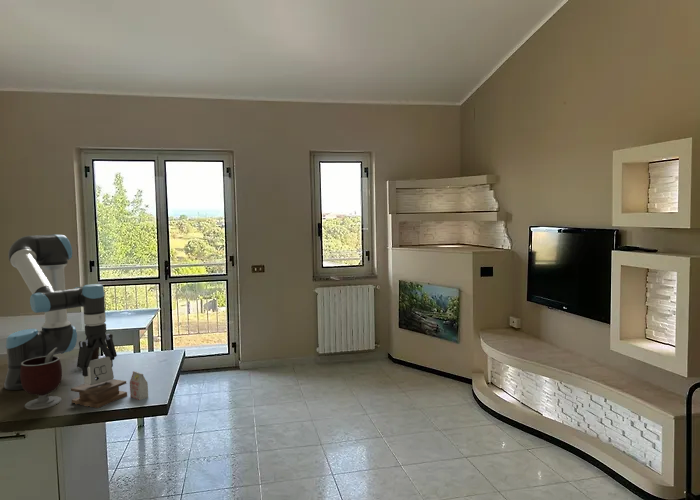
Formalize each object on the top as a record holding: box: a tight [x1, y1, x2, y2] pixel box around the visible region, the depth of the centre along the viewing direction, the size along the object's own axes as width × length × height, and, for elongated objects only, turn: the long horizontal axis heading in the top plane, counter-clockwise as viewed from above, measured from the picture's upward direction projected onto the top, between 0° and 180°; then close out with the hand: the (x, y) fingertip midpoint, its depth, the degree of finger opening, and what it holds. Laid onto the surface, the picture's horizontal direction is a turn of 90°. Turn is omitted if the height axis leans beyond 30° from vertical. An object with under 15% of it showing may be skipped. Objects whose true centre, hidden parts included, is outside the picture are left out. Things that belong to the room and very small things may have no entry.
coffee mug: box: [87, 344, 100, 361], centre depth 250 cm, size 12×9×10 cm
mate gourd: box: [20, 348, 63, 411], centre depth 199 cm, size 16×14×20 cm
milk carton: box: [129, 370, 149, 401], centre depth 204 cm, size 4×7×10 cm, turn 53°
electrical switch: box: [88, 356, 115, 385], centre depth 201 cm, size 9×5×9 cm, turn 142°
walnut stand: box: [70, 378, 128, 409], centre depth 202 cm, size 14×14×6 cm
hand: (98, 379), depth 201 cm, fingers closed on electrical switch, 9 cm apart
